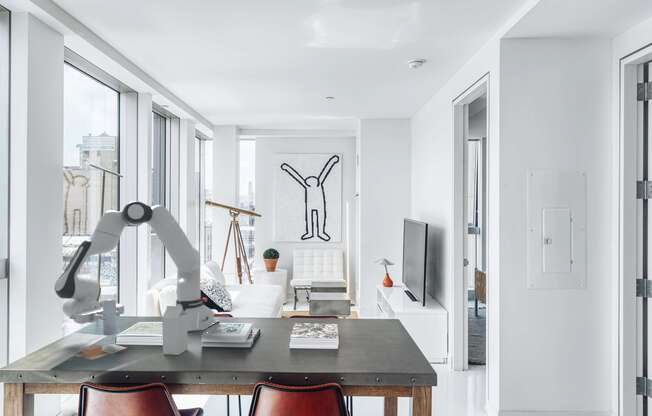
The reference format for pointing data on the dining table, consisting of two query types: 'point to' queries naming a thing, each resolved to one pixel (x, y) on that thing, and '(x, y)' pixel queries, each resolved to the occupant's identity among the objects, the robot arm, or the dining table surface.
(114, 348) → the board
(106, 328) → the tall grey block
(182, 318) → the milk carton
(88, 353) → the terracotta marker
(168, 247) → the robot arm
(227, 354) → the dining table surface
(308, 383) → the dining table surface
